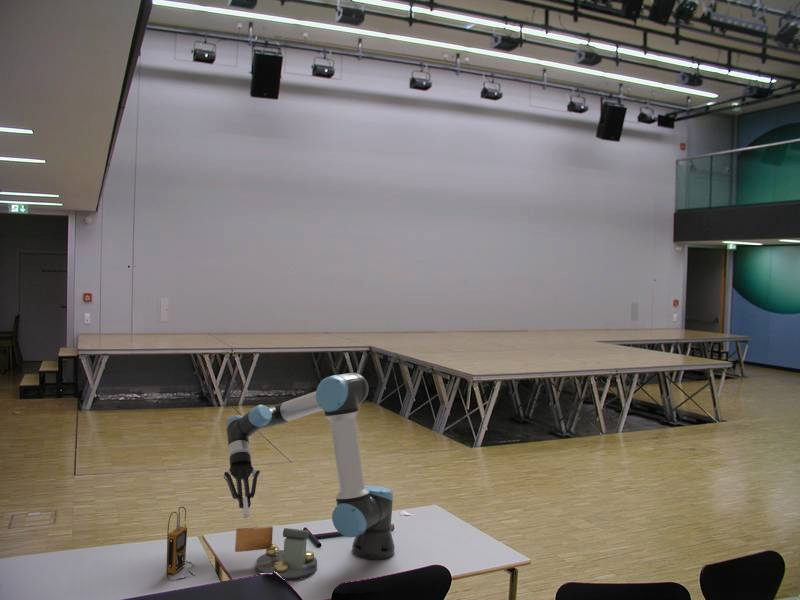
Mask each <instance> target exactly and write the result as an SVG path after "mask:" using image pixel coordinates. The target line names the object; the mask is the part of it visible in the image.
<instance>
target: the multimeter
mask: <svg viewBox="0 0 800 600" xmlns="http://www.w3.org/2000/svg"><path fill="white" fill-rule="evenodd" d="M181 508H182V509H183V510H184V513H185V514H184V520H186V517H187V509H186V507H184V506H180V507H178V510H181ZM174 513H175V514H176V516H177V518H176V526H175V529H174V530H172V531H171V532H168V533H167V536H166V538H167V540H166V543H167V544H166V576H167V578H169V575H168V573H171V574H170V575H176V574H177V573H178V572H179V571H180V570H182V569H183V568H184V567H183V566H184V565H185V566H186V561H185V560H186V557H187V556H186V555H187V541H188V540H187V538H188V537H187V535H188V527H186V525H184V526H181V525H180V524H181V523H180V522H181V521H180V518H181V517H180V516H181V514H180V511H178V513H177V512H176V511H172V512H171V513H170V514H169V519H168V525H167V531H169V529H170V528H169V527H170V522H171V521H170V519H171V517H172V515H173V514H174ZM182 567H183V568H182ZM181 568H182V569H181ZM179 569H180V570H179ZM178 570H179V571H178ZM177 571H178V572H177ZM175 573H176V574H175Z"/></svg>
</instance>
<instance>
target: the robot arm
mask: <svg viewBox="0 0 800 600" xmlns="http://www.w3.org/2000/svg"><path fill="white" fill-rule="evenodd" d="M368 394H369V383H368V382H367V380H366V378H365V377H364V376H363V375H361V374H360V373H357V372H347V373H342V374H334V375H330V376H327V377H325V378H323V379H322V380H321V381H320V383H319V384H318V385H317V388H316V390H315V391H313V392H309V393H307V394H304V395H301V396H299V397H296V398H293V399H289V400H287V401H284V402H281V403H277V404H274V405H272V406H266V405H264V404H258V405H256V406H255V407H253V408H251V409H250V410H249V411H248V412H246V414H244V415H234V416H230V417H229V418H228V419H227V421H226V437H227V445H228V446H227V447H228V456H229V457H228V458H229V459H228V460H229V470H228V471H225V472H224V474H223V479H224V480H225V481H226V483H227V486H228V489H229V491H230V494H231V497H232V499H233V500H237V502H238V508H239V509H241V510H242V518H243V519H247V518H249V515H250V512H249V509H250V507H251V505H252V504H251V503H252V502H251V499H254V497H255V495H256V490H257V481H258V477H259V475H260V472H261V471H260V470H255V469H254V467H253V466H252V459H251V449H250V441H249V438H250V437H252V435H254V434H255V433H257V432H258V431H259V430H262V429H266V428H271V427H273V426H279V425H284V424H286V423H288V422H291V421H294V420H297V419H300V418H303V417H306V416H309V415H312V414H316V413H319V412H321V411H324V416H325V419H327V420H329V422H330V423H329V424H330V430H331V436H332V437H331V438H332V444H333V453H334V461H335V467H336V468H335V469H336V475H337V483H338V489H339V490H338V493H337V494H336V495H335V501H336V502H335V503H336V505H335V507H334V509H333V510H332V513H331V519H332V520H331V522H332V524H333V526H334V528H335V530H336V531H337V532H338V533H340V534H341V535H342V536H343V537H346V538H354V539H353V541H352V546H351V547H352V549H351V550H352V551H351V552H352V554H353V555H355V556H357V557H359V558H362V559H364V560H365V559H366V560H385V559H388V558H390V557H392V556H394V554H395V541H394V539H393V535H392V529H391V528H392V519H393V517H392V516H393V515H392V514H393V501H394V499H393V497H394V496H393V495H394V494H393V491H392V490H391V489H390V488H388V487H384V486H379V485H365V482H364V474H363V467H362V460H361V459H362V458H361V453H360V451H361V450H360V445H359V437H358V432H357V431H358V429H357V423H356V416H357V415H358V413H359V405H360V404H361V403H363V402H364V401H365V400H366V399H367V397H368ZM250 476H252V477H253V478H252V484H251V490H250V482H249V477H250ZM232 477H233V478H234V479H235V483H236V486H235V484H234V481H233V478H232ZM242 482H243V483H242ZM242 484H243V485H242ZM243 487H244V488H243ZM243 490H244V494H243Z"/></svg>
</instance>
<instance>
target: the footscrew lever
mask: <svg viewBox="0 0 800 600" xmlns="http://www.w3.org/2000/svg"><path fill="white" fill-rule="evenodd" d="M273 529H274V527H273V526H272V525H267V526H256V527H255V526H254V527H247V528H246V527H244V528H236V529H235V540H234V541H235V542H234V543H235V544H234V551H235V553H242V552H249V551H259V550H261V551H262V550H265V554H266V556H268V557H276V556H278V555H279V550H280V548H279V546H277V544H274V543H273V534H274V533H273V532H274V530H273Z"/></svg>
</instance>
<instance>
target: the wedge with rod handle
mask: <svg viewBox="0 0 800 600" xmlns="http://www.w3.org/2000/svg"><path fill="white" fill-rule="evenodd" d="M309 535H310V531H309V530H308V529H307V530H306V529H297V528H289V527H288V528H287V527H286V528H285V527H284V528H283V531H282V537H283V538H285V539H284V541H283V550H284V556H283V562H287V563H288V568H290V569H300V570H301V569H302V567H303V565H304V564H305V560H306V551H307V542H308V539H309Z"/></svg>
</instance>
